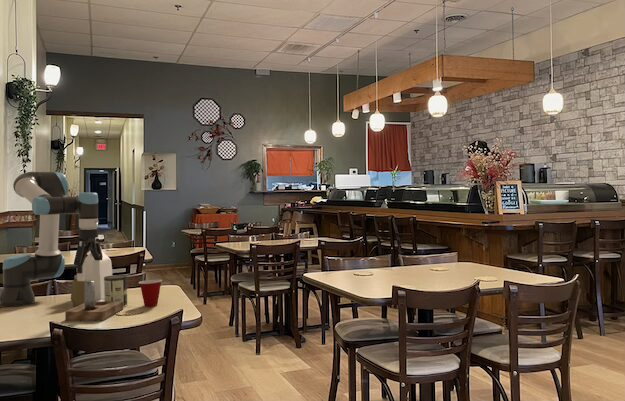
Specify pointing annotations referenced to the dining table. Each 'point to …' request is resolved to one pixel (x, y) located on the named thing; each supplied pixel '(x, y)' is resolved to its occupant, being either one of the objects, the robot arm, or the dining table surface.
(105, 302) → the hole block
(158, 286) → the plastic cup
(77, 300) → the squeeze bottle
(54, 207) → the robot arm
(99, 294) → the milk
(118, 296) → the coffee can
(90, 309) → the peg
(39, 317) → the dining table surface
